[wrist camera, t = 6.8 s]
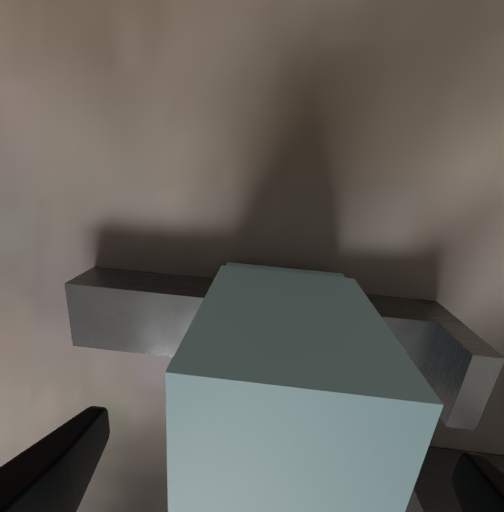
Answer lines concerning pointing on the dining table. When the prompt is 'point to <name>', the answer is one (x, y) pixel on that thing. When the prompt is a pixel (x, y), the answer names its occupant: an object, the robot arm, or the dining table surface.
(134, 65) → the dining table surface
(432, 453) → the grey hollow box
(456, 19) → the dining table surface
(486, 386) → the rail
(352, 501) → the grey block
